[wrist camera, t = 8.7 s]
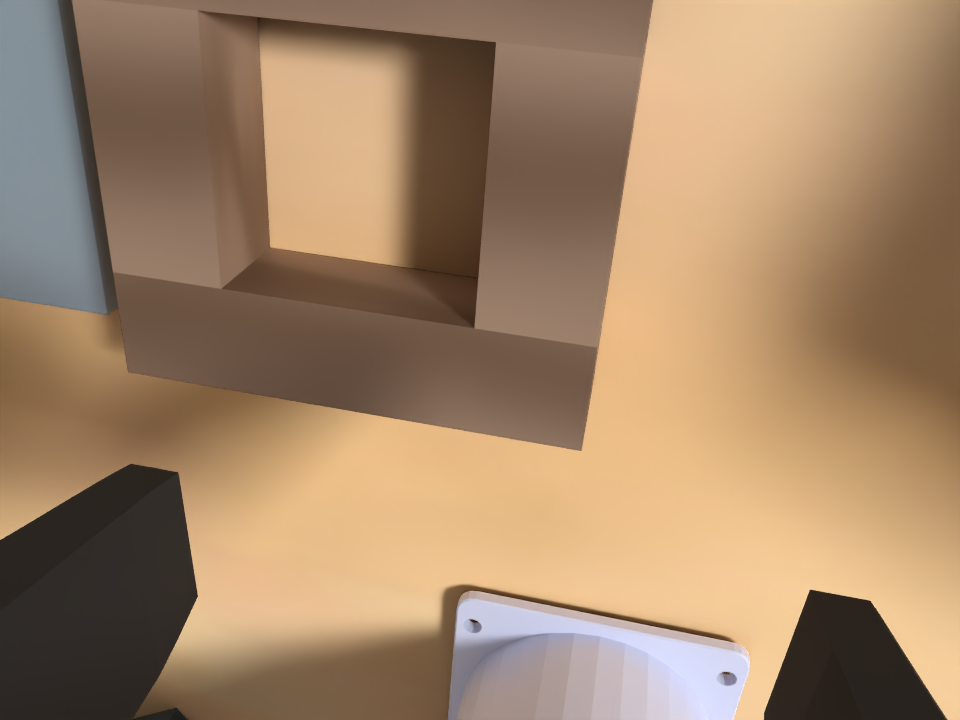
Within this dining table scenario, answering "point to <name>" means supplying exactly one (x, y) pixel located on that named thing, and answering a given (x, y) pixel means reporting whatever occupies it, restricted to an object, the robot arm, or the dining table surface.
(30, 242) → the rubber mat
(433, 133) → the dining table surface
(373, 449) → the dining table surface
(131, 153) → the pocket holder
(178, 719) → the watch
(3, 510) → the dining table surface
